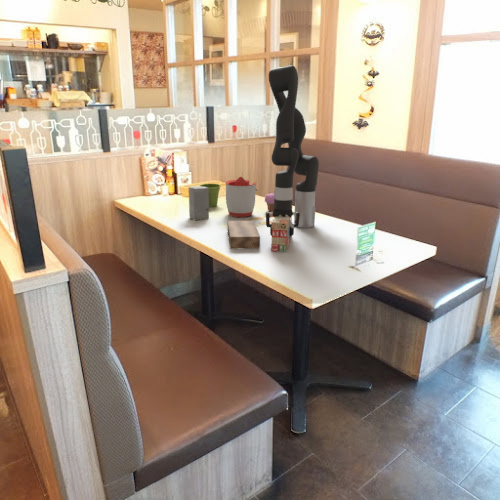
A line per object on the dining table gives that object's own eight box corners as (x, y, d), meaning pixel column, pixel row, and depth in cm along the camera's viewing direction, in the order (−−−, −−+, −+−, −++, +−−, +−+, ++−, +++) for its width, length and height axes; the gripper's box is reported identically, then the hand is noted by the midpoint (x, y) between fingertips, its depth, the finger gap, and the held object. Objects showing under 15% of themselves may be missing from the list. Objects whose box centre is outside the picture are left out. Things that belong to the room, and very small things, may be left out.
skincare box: (194, 220, 221) (194, 189, 215) (188, 217, 226) (187, 186, 221) (210, 218, 225) (209, 187, 220) (203, 215, 231) (202, 185, 225)
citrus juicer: (264, 215, 232) (265, 177, 225) (236, 220, 222) (236, 180, 216) (246, 209, 244) (247, 172, 237) (219, 213, 234) (219, 175, 228)
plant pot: (197, 204, 254) (196, 184, 250) (216, 202, 259) (216, 182, 255) (204, 208, 244) (203, 188, 240) (224, 206, 249) (224, 186, 245)
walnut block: (253, 231, 205) (253, 220, 204) (259, 248, 183) (259, 236, 181) (227, 231, 204) (227, 220, 203) (230, 248, 182) (230, 237, 180)
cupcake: (280, 213, 236) (281, 195, 233) (264, 213, 236) (264, 194, 233) (280, 209, 245) (280, 191, 241) (264, 209, 245) (264, 191, 241)
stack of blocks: (277, 235, 199) (278, 208, 195) (291, 236, 198) (292, 209, 194) (270, 251, 179) (271, 221, 175) (286, 252, 178) (287, 222, 174)
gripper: (298, 195, 186) (296, 233, 192) (264, 195, 185) (263, 233, 190) (302, 199, 179) (300, 238, 184) (267, 199, 178) (265, 239, 183)
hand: (281, 236), depth 187 cm, fingers closed on stack of blocks, 7 cm apart
